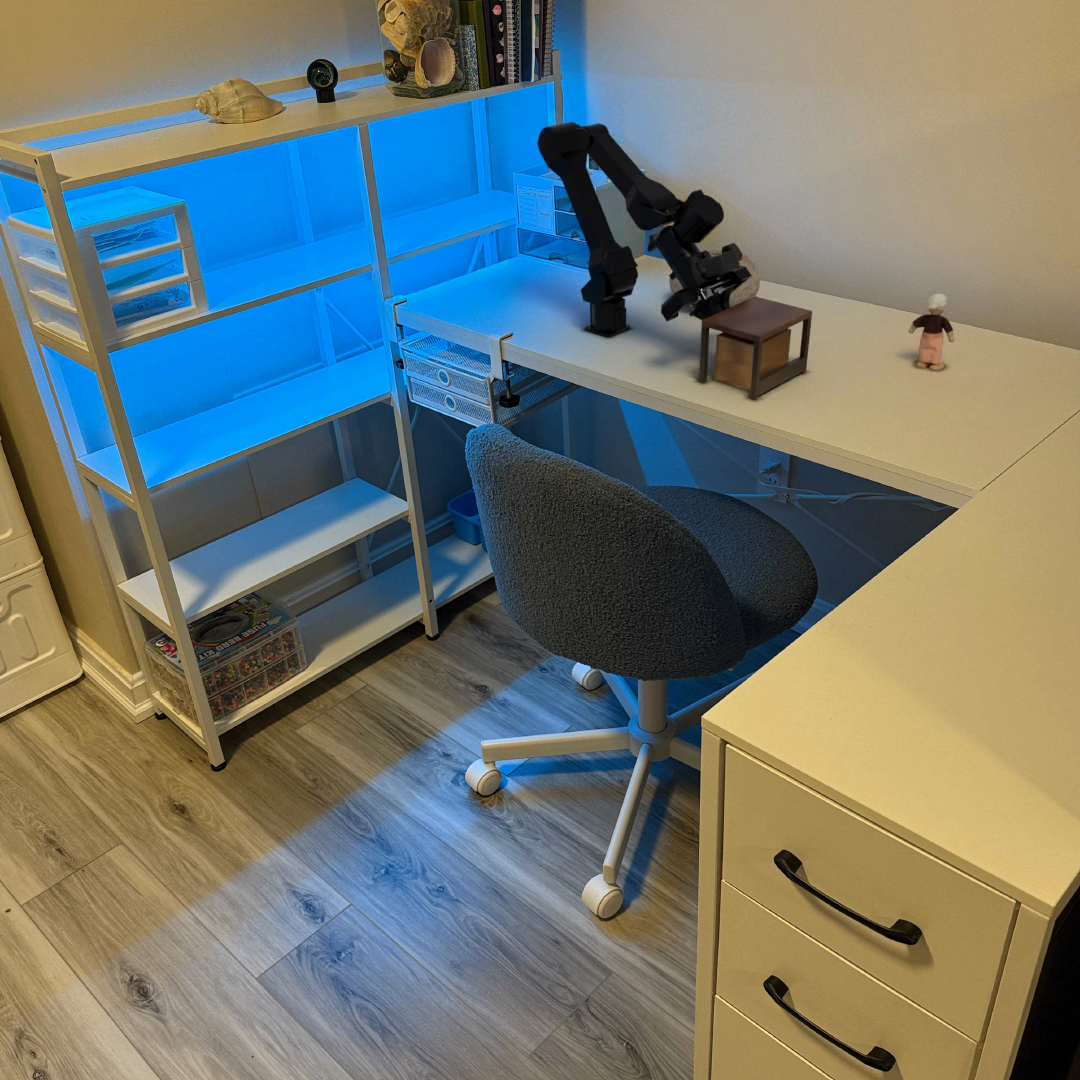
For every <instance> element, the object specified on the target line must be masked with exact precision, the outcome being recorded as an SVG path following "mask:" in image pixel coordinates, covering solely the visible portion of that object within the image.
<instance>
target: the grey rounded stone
mask: <svg viewBox="0 0 1080 1080" xmlns="http://www.w3.org/2000/svg"><path fill="white" fill-rule="evenodd" d="M707 251H708V252H709V253H710V255H711V256H715V255H717V254H720V253H722V249H711V250H707ZM739 263H740V266H744V267H746V268H747V269H748V271H749V272H750V274H751V277H750V278H749V279H748V280H747V281H746V282H744V283H743V284H742V285H741V286H740V287H739V288H737V289H736V290H735V291H734V292H733V293H731V295H730V299H729V304H730V307H732V306H735V305H737V304H739V303H741V302H744V301H746V300H748V299H750V298H753V297H755V296H756V297H757V294H758V292H759V291H760V285H761V274H760V273H759V270H758V268H757V266H756V264H755V262H754V261H752V260H751V259H750V258H749V257H748V254H743V256H742V259H741V260H740V261H739ZM718 279H719V278H718ZM718 279H717V280H718ZM669 288H670V291H671V294H672V295H673V294H674V293H675V292H677V291H679V290H681V289H683V287H682V286H681V284H680V283H679V281H678V279H674V280H671V278H670V277H669ZM710 290H711V289H710ZM688 306H689V307H691V308H692V305H688Z"/></svg>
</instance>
